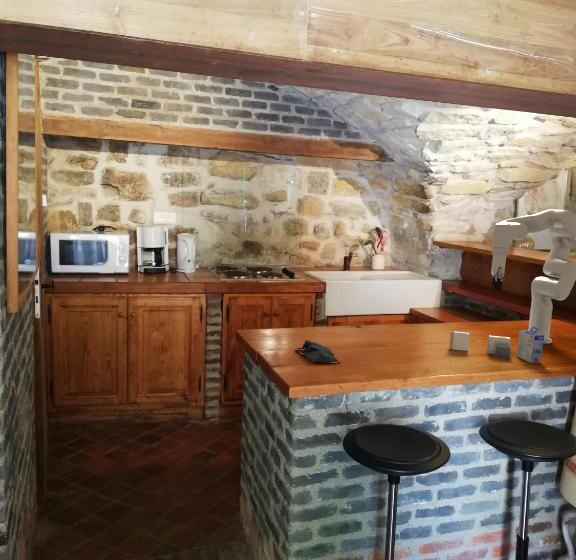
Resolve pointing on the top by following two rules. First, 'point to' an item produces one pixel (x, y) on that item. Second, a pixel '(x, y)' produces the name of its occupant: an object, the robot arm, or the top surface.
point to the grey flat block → (459, 340)
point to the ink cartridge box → (530, 345)
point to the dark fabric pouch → (317, 352)
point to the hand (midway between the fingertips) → (496, 288)
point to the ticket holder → (499, 346)
